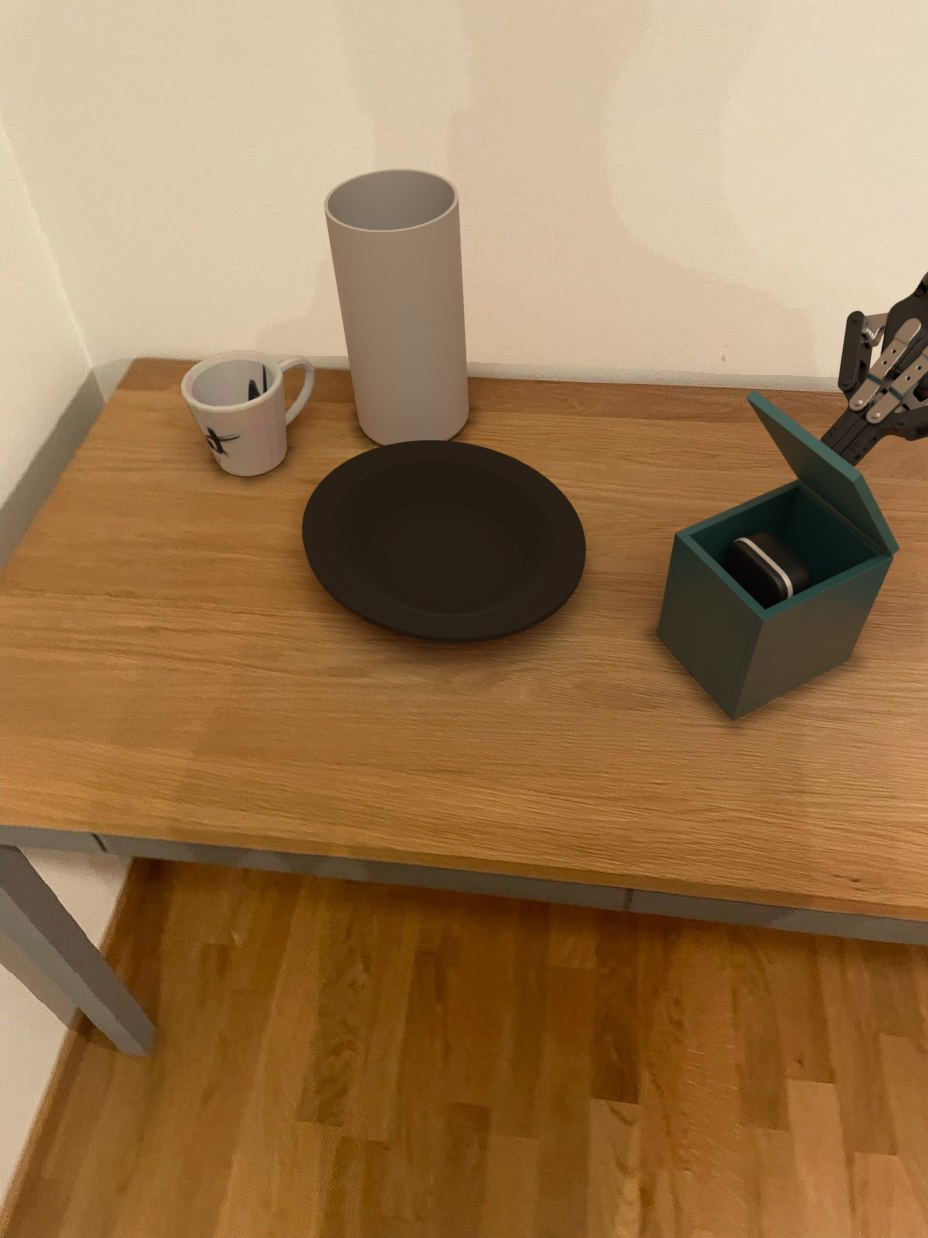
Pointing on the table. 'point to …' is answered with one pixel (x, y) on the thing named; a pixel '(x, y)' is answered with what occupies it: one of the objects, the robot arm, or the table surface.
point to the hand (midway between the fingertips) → (827, 463)
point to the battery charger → (766, 569)
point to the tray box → (785, 633)
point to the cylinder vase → (401, 302)
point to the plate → (444, 541)
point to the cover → (825, 472)
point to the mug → (244, 407)
